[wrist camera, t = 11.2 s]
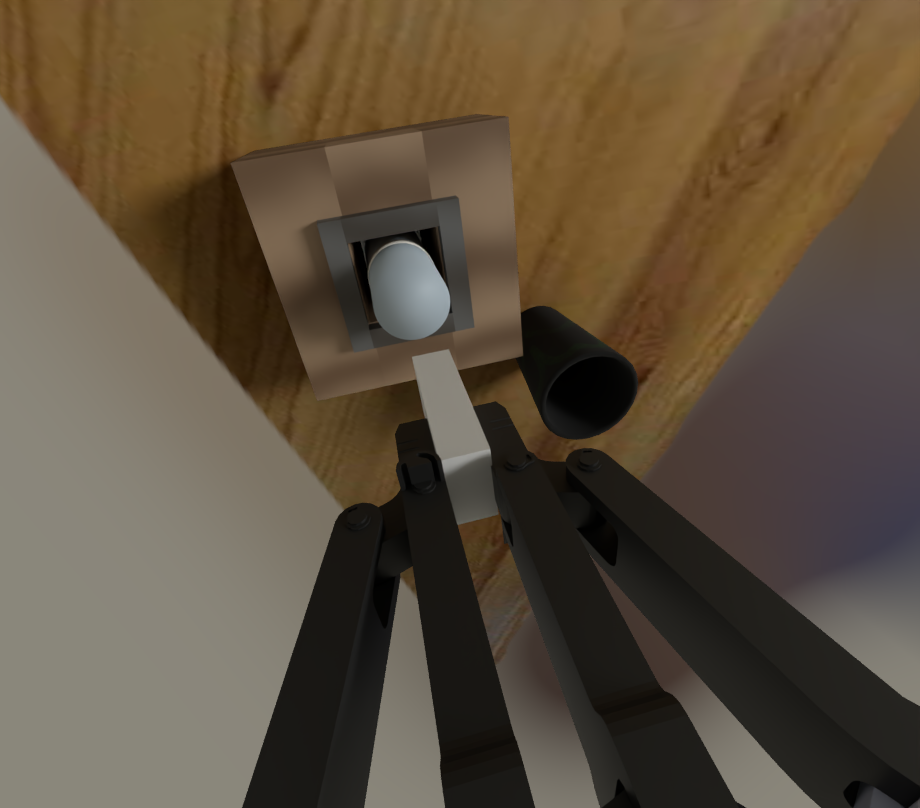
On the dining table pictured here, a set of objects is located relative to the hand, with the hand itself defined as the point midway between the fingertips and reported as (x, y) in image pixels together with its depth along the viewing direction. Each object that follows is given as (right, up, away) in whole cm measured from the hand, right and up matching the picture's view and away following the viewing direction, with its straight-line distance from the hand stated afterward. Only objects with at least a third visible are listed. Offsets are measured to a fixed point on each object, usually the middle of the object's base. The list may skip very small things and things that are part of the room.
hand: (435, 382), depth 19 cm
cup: (+8, +6, +26) cm, 28 cm away
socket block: (-4, +12, +18) cm, 22 cm away
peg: (-4, +11, +17) cm, 21 cm away
